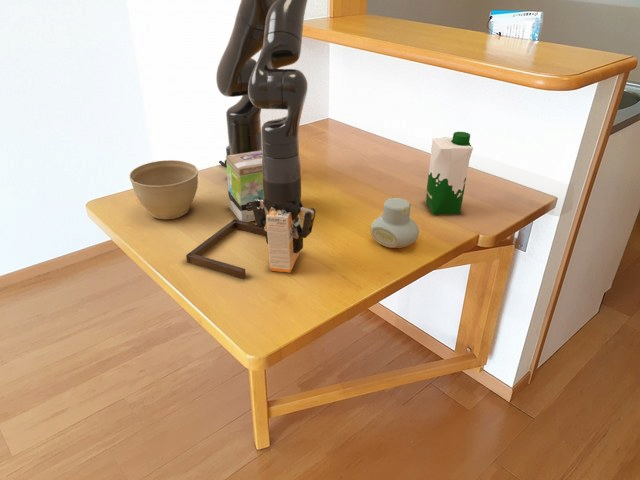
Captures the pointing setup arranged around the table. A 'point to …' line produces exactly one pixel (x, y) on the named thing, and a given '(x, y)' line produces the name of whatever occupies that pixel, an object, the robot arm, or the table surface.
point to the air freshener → (395, 225)
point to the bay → (197, 253)
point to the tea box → (244, 183)
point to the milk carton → (448, 173)
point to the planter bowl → (165, 187)
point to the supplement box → (280, 241)
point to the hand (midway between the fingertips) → (284, 248)
